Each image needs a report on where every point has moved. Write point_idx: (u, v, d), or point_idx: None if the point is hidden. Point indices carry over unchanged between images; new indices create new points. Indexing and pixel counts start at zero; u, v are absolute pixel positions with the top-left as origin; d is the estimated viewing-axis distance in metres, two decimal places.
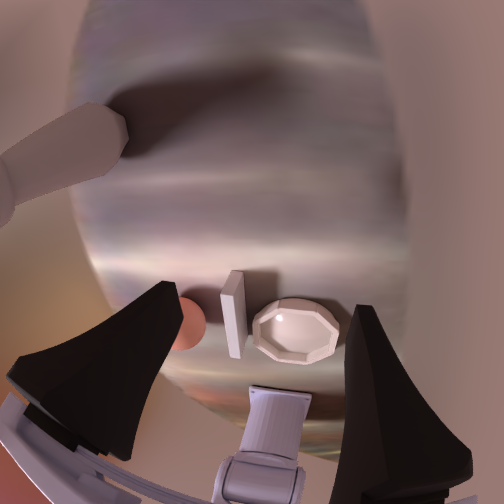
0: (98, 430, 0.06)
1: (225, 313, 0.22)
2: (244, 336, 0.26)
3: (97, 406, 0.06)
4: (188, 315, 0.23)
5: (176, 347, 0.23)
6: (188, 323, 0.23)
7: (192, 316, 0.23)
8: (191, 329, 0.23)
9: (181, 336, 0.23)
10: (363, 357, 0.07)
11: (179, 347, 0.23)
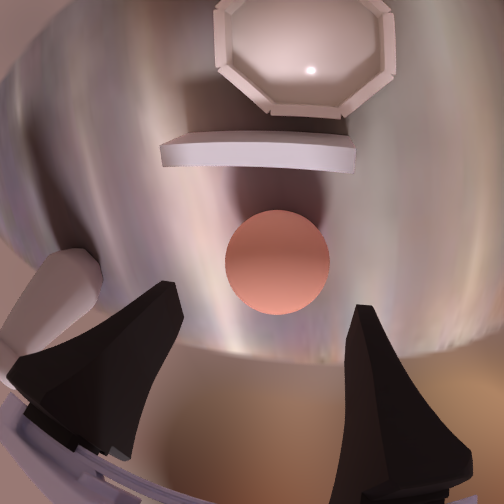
0: (98, 430, 0.06)
1: (203, 161, 0.11)
2: (324, 137, 0.11)
3: (97, 406, 0.06)
4: (234, 235, 0.13)
5: (282, 285, 0.11)
6: (239, 239, 0.12)
7: (239, 228, 0.13)
8: (249, 237, 0.12)
9: (250, 261, 0.11)
10: (363, 357, 0.07)
11: (282, 279, 0.11)
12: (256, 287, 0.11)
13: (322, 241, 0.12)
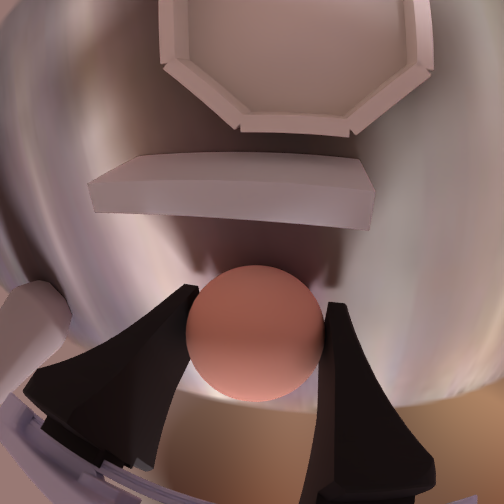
0: (124, 443, 0.06)
1: (141, 207, 0.07)
2: (323, 164, 0.07)
3: (124, 419, 0.06)
4: (195, 304, 0.09)
5: (256, 383, 0.08)
6: (198, 314, 0.09)
7: (201, 295, 0.09)
8: (211, 315, 0.08)
9: (212, 350, 0.08)
10: (330, 355, 0.08)
11: (256, 376, 0.07)
12: (222, 381, 0.08)
13: (316, 314, 0.09)
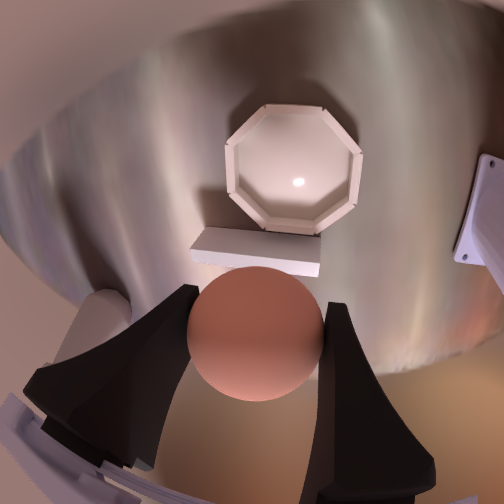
0: (124, 443, 0.06)
1: (220, 263, 0.18)
2: (302, 244, 0.18)
3: (124, 419, 0.06)
4: (196, 305, 0.09)
5: (258, 382, 0.08)
6: (200, 315, 0.09)
7: (202, 297, 0.09)
8: (212, 316, 0.08)
9: (214, 351, 0.08)
10: (330, 355, 0.08)
11: (258, 375, 0.08)
12: (224, 381, 0.08)
13: (315, 314, 0.09)
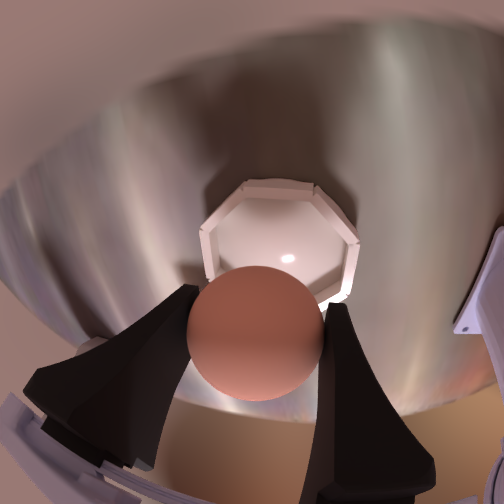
0: (124, 443, 0.06)
1: None
2: None
3: (124, 419, 0.06)
4: (195, 304, 0.09)
5: (258, 382, 0.08)
6: (200, 315, 0.09)
7: (202, 296, 0.09)
8: (212, 316, 0.08)
9: (214, 350, 0.08)
10: (330, 355, 0.08)
11: (258, 375, 0.08)
12: (224, 381, 0.08)
13: (316, 314, 0.09)
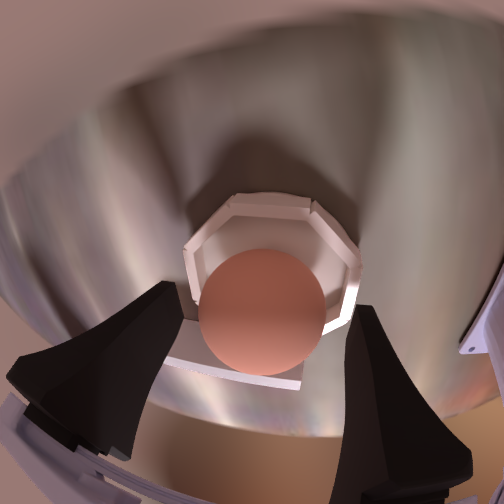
0: (98, 430, 0.06)
1: (192, 369, 0.15)
2: None
3: (97, 406, 0.06)
4: (207, 283, 0.10)
5: (266, 353, 0.09)
6: (212, 292, 0.09)
7: (214, 276, 0.10)
8: (224, 292, 0.09)
9: (225, 323, 0.09)
10: (363, 357, 0.07)
11: (267, 346, 0.09)
12: (234, 353, 0.09)
13: (318, 291, 0.10)
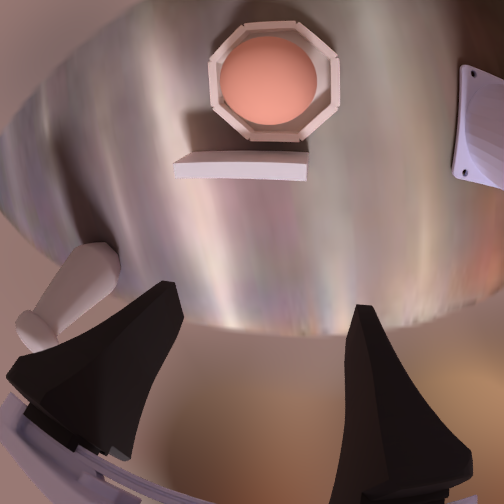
0: (98, 430, 0.06)
1: (204, 174, 0.16)
2: (288, 155, 0.16)
3: (97, 406, 0.06)
4: None
5: (273, 66, 0.10)
6: (233, 50, 0.11)
7: None
8: (242, 44, 0.11)
9: (243, 53, 0.10)
10: (363, 357, 0.07)
11: (273, 60, 0.10)
12: (249, 70, 0.10)
13: None
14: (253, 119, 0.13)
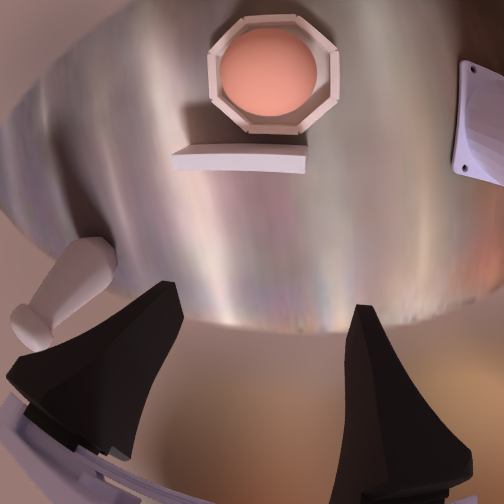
0: (98, 430, 0.06)
1: (201, 166, 0.16)
2: (287, 148, 0.16)
3: (97, 406, 0.06)
4: None
5: (274, 56, 0.10)
6: (233, 41, 0.11)
7: None
8: (243, 35, 0.10)
9: (244, 44, 0.10)
10: (363, 357, 0.07)
11: (274, 51, 0.10)
12: (250, 60, 0.10)
13: (307, 47, 0.11)
14: (253, 110, 0.12)
